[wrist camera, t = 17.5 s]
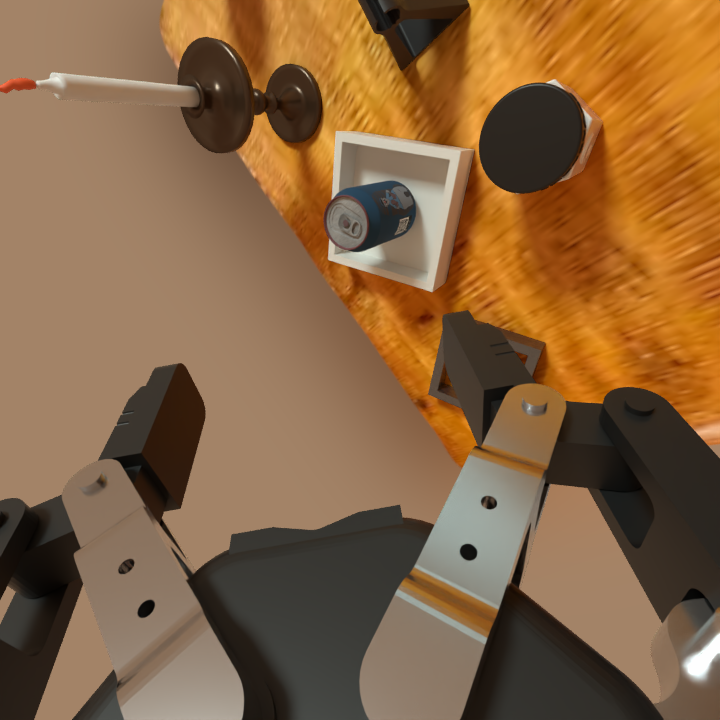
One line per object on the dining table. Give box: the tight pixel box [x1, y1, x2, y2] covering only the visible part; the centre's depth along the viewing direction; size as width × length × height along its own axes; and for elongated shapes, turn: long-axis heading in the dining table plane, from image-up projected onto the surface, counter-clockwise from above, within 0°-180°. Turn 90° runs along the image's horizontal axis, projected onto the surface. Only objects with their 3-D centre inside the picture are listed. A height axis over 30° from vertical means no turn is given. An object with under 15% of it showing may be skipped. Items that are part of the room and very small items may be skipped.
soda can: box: [324, 181, 416, 252], centre depth 50 cm, size 7×7×12 cm
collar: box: [428, 320, 545, 408], centre depth 57 cm, size 12×12×2 cm
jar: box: [479, 80, 603, 194], centre depth 39 cm, size 9×8×12 cm
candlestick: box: [0, 37, 322, 153], centre depth 44 cm, size 11×11×35 cm
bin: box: [328, 131, 474, 292], centre depth 54 cm, size 16×16×4 cm
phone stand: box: [358, 0, 469, 70], centre depth 41 cm, size 9×6×12 cm, turn 124°
